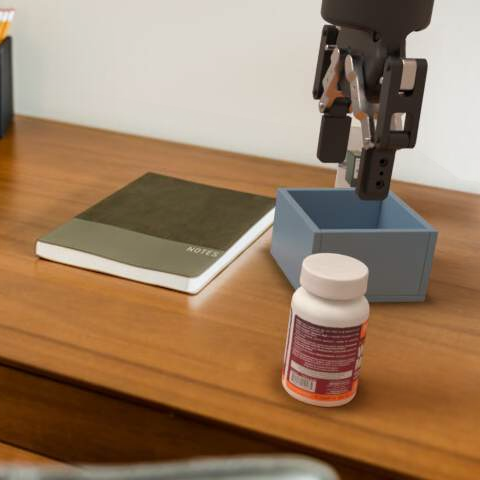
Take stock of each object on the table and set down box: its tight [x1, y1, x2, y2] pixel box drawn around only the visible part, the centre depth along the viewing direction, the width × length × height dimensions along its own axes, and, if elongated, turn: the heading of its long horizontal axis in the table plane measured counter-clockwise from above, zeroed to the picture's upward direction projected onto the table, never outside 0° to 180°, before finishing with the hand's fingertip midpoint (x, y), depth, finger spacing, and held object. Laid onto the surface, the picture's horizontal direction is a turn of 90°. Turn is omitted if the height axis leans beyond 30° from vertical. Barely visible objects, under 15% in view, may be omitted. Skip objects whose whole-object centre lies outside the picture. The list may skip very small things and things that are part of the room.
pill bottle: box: [281, 253, 371, 408], centre depth 73 cm, size 6×6×11 cm
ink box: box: [334, 113, 377, 188], centre depth 113 cm, size 9×5×12 cm, turn 157°
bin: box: [269, 187, 439, 303], centre depth 94 cm, size 13×13×8 cm
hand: (349, 179), depth 68 cm, fingers open, 8 cm apart
